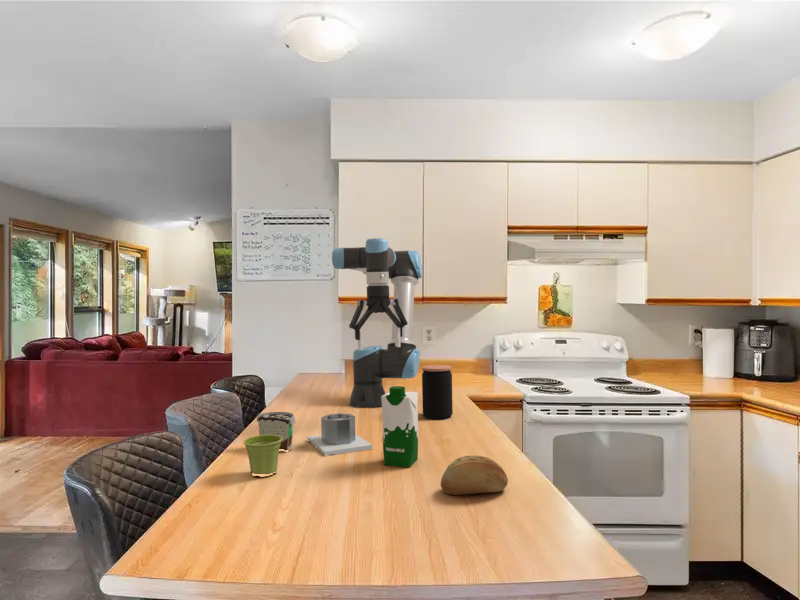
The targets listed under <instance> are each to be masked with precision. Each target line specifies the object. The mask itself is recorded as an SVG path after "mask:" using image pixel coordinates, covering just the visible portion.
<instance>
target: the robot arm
mask: <svg viewBox="0 0 800 600" xmlns="http://www.w3.org/2000/svg"><path fill="white" fill-rule="evenodd" d="M331 264H332V267H333V268H334V269H337V270H352V271H353V270H354V271H358V272H361V273H363V274H364V275H366V276H365V277H366V278H365V279H366V284H367V286H366V300H363V299H358V301H357V307H356V310H355V311H354V313H353V316H352V318H351V321H350V323H349V325H348V327H349V328H350V329H352V330H354V339H355V341H356V340H357V348H356V349H355V350H354V351H353V353H352V354H353V355H352V356H353V358H352V359H353V360H352V363H353V364H352V366H353V367H352V369H353V387H352V390H351V393H350V397H349V405H350V406H351V407H355V408H377V407H378V408H379V407H382V399H381V396H383V395H385V394H386V391H385V389H384V385H383V379H402V380H405V379H414V378H415V377H416V376H417V374H418V371H419V367H420V360H421V359H420V358H421V352H420V351H421V350H419V349H418V348H417V345H416V343H415V342H414V341H413V339H414V338H413V336H414V309H415V308H414V306H415V286H417V284H418V283H419V279H422V278H423V267H422V266H423V265H422V260H421V255H420V253H419V252H418V251H416V250H394V249H392V248H391V247H390V246H389V241H388V239H386V238H383V237H382V238H380V237H379V238H378V237H377V238H376V237H375V238H367V239H366V241H365V246H364V247H363V246H361V247H359V246H358V247H338V248H334V249H333V250H332V252H331ZM389 283H392V285H393V298H392V299H390V286H389ZM390 304H391V306H392V310H391V308H390ZM365 306H367V308H366V310H365V311H364V310H363V309H364V308H365ZM363 311H364V314H362V312H363ZM379 313H381V314H382V313H383V314H384V313H385V314H386V315H387V316H388V317H389V318H390V320H391V321H392V322H391V323H392V324H391V338H390V339H391V340H390V341H389V342H388V343H387V347H386V348H385V349H384V348H383V347H382V345H380V344H378V345H371V346H365V347H364V340H363V334H364V333H363V330H361V328H362V327H364V324H365V323H366V322H367V320H368V319H369V318H370V316H371V315H372V314H379ZM361 315H362V316H361Z"/></svg>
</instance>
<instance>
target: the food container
mask: <svg viewBox="0 0 800 600" xmlns="http://www.w3.org/2000/svg"><path fill="white" fill-rule="evenodd" d="M256 422H258V423H257V424H258V431H259V432H258V434H259V436H260V435H278V436H281V437H282V441H281V445H280V447H279V449H284V450H289V449H290V448H291V449H292V446H293V445H292V444H293V443H292V441H293V430H294V429H293V428H294V424H296V418H295V415H294V414H293V413H292V412H286V411H270V412H263V413H258V414H257V417H256Z"/></svg>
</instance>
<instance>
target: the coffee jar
mask: <svg viewBox="0 0 800 600" xmlns="http://www.w3.org/2000/svg"><path fill="white" fill-rule="evenodd" d="M452 369H453V366H451V365H447V364H428V365H423V366H422V367H421V370H422V374H421V385H422V386H421V389H422V397H421V398H422V415H423V417H424V418H425V419H426V420H431V419H432V421H435V420H436V421H441V420H442V421H443V419H444V420H447V419H448V418H449V419H451V417H452V416H453V412H454V411H453V409H454V408H453V373H452V371H451V370H452ZM449 419H448V420H449Z"/></svg>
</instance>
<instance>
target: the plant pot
mask: <svg viewBox="0 0 800 600" xmlns="http://www.w3.org/2000/svg"><path fill="white" fill-rule="evenodd" d="M281 441H282V437H281V436H278V435H260V434H259V435H254V436H250V437H247V438H245V439H244V440H243V444H244V445H245V449H246V451H247V457H248V462H249V467H250V473H251V472H252V473H254V474H270V473H273V472H276V471H278V462H279V455H280V452H279V447H280V445H281Z"/></svg>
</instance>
